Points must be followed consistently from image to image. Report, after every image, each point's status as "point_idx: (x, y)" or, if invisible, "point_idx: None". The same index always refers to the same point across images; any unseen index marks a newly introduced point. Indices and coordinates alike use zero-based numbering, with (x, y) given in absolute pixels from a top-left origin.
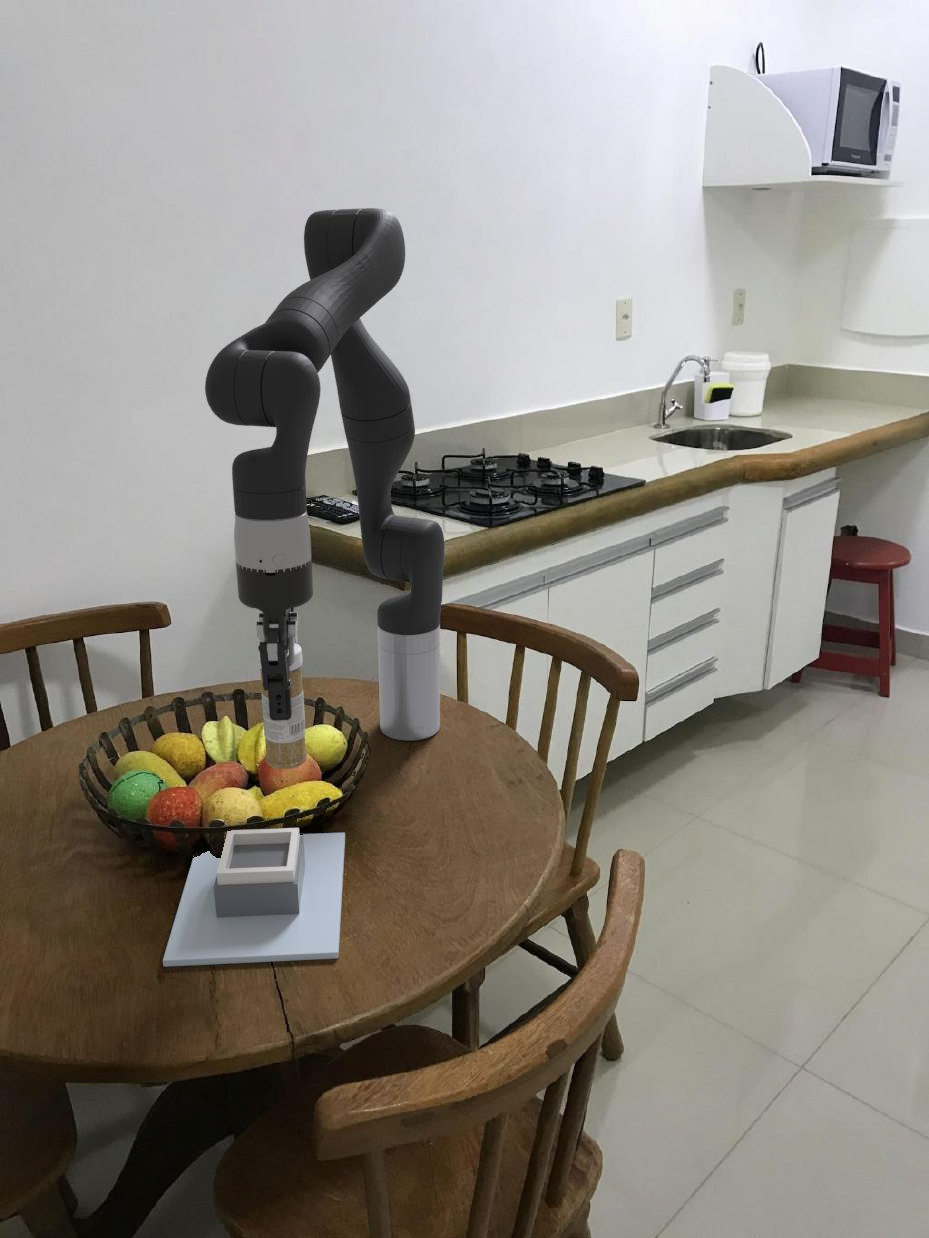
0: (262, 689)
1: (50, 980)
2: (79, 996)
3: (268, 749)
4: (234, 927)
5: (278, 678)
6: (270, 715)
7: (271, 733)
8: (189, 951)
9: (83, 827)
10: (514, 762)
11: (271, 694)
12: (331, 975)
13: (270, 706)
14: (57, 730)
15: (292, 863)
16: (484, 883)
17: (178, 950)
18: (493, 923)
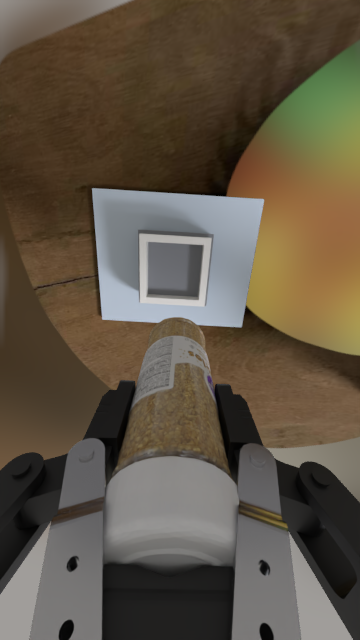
0: (154, 402)
1: (75, 75)
2: (57, 114)
3: (158, 333)
4: (130, 245)
5: (19, 520)
6: (119, 384)
7: (147, 355)
8: (102, 210)
9: (333, 40)
10: (306, 437)
11: (85, 435)
12: (88, 313)
13: (113, 400)
14: None
15: (149, 302)
16: None
17: (103, 200)
18: None
